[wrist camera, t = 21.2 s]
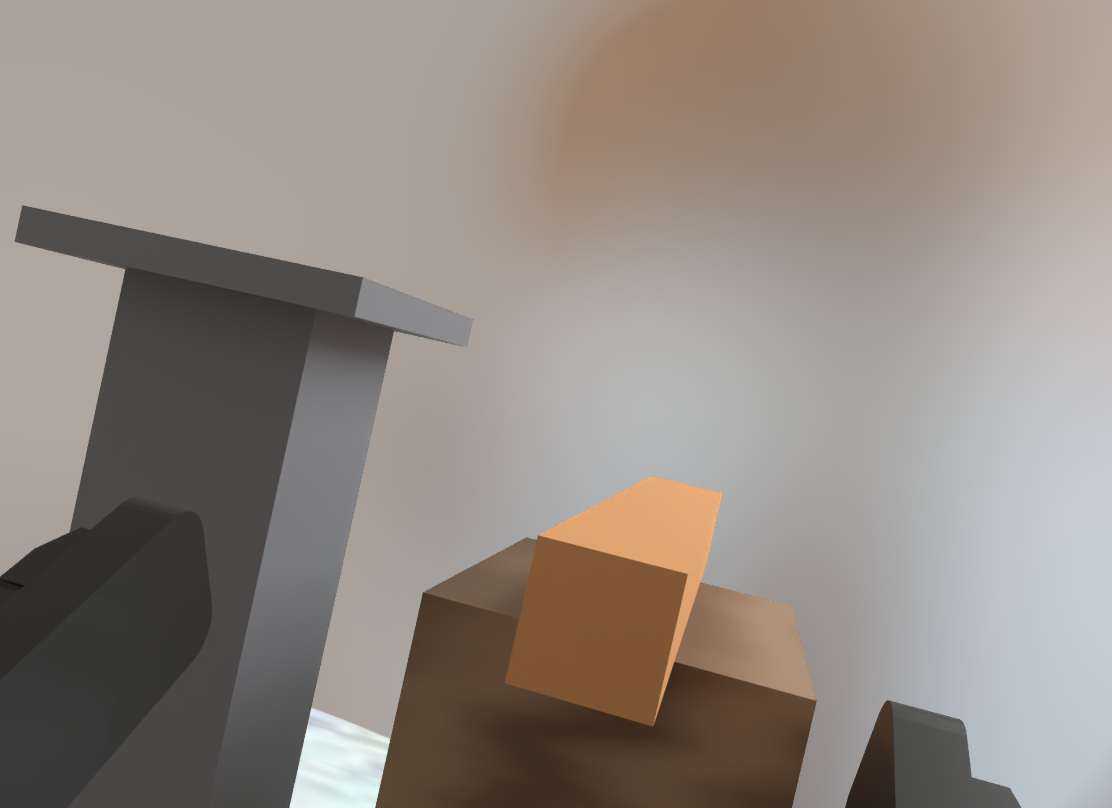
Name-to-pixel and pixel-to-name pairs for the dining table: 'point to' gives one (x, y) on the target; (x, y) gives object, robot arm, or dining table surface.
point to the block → (614, 598)
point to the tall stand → (235, 483)
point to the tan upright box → (596, 711)
